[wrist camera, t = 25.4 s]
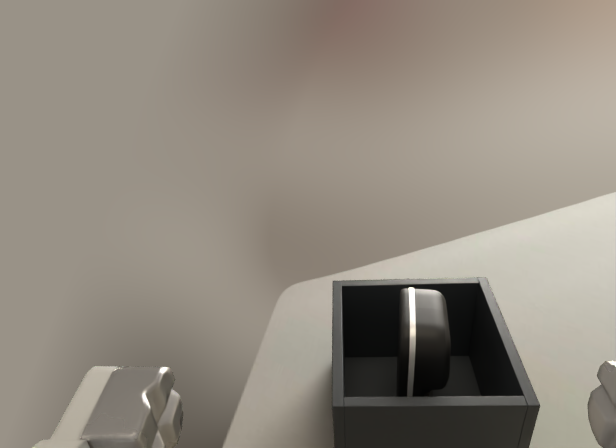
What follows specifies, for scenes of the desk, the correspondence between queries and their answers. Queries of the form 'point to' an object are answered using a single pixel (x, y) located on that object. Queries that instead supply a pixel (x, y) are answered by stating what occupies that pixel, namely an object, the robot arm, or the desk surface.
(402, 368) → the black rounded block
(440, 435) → the trash bin
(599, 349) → the desk surface
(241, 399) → the desk surface
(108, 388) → the robot arm
